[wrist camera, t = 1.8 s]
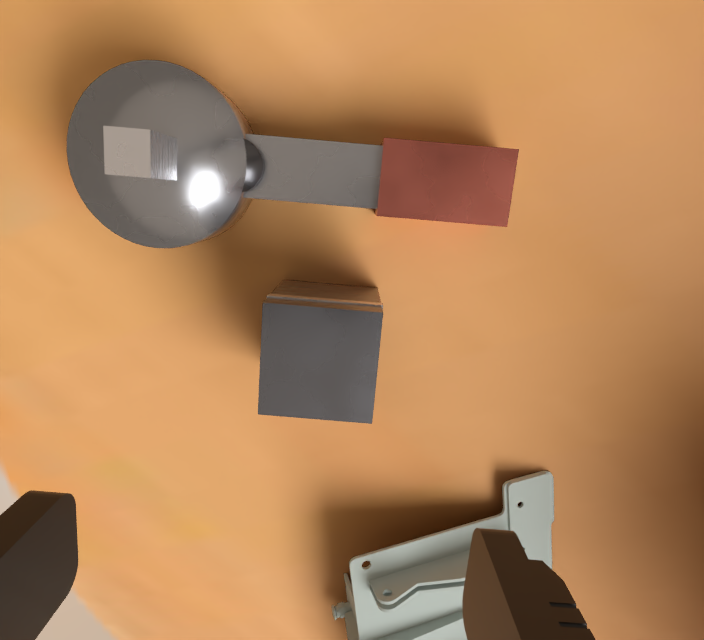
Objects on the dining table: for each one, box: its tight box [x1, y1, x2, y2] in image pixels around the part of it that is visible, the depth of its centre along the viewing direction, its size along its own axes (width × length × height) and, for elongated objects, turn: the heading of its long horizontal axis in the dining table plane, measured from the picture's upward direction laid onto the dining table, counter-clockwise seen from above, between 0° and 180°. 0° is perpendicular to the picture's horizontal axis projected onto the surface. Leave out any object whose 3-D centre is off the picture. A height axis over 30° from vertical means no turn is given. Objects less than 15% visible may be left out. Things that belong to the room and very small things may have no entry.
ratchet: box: [67, 60, 519, 248], centre depth 23 cm, size 20×8×6 cm, turn 85°
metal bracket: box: [332, 471, 554, 640], centre depth 31 cm, size 14×6×15 cm
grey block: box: [258, 280, 383, 424], centre depth 25 cm, size 5×5×6 cm
